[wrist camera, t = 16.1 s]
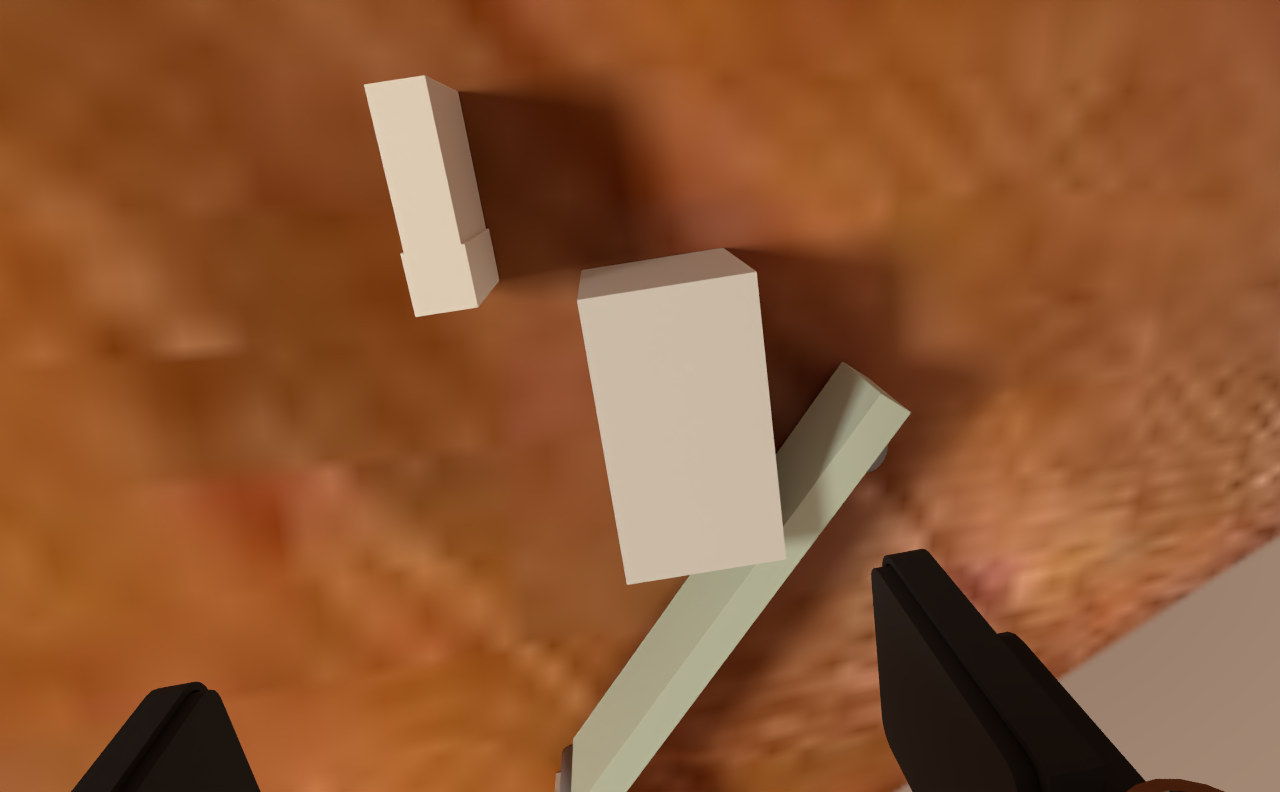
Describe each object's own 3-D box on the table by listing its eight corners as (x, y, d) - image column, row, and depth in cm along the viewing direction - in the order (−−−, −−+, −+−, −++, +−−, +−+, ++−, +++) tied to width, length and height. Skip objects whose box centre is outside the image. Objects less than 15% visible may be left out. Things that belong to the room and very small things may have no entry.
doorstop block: (581, 270, 27) (577, 299, 21) (722, 247, 27) (756, 271, 21) (621, 501, 30) (627, 584, 24) (749, 481, 30) (786, 559, 24)
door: (595, 775, 33) (595, 879, 28) (555, 757, 33) (548, 859, 28) (881, 385, 29) (938, 431, 24) (839, 358, 28) (888, 399, 23)
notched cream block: (405, 99, 25) (360, 85, 20) (461, 90, 25) (428, 74, 20) (579, 875, 35) (576, 989, 30) (618, 868, 35) (621, 982, 30)
